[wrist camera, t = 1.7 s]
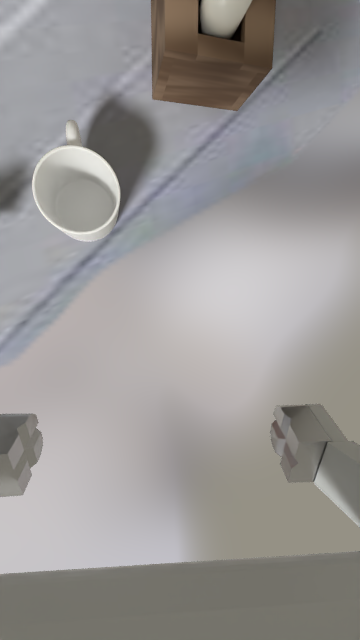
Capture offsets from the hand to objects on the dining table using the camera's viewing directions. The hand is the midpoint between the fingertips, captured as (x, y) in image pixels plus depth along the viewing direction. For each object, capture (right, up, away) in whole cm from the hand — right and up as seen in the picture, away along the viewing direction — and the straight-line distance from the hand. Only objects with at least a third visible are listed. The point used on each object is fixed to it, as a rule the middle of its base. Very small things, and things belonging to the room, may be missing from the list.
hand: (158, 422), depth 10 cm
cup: (-12, +20, +28) cm, 36 cm away
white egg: (+5, +36, +21) cm, 42 cm away
